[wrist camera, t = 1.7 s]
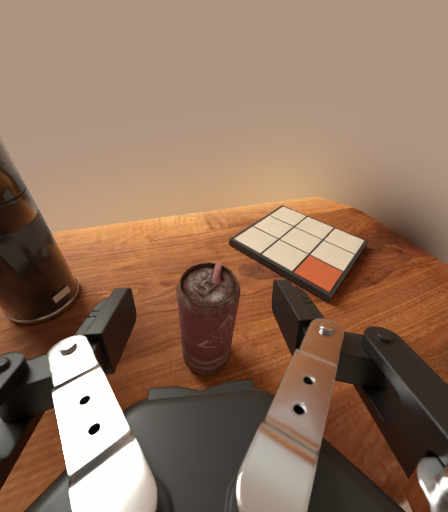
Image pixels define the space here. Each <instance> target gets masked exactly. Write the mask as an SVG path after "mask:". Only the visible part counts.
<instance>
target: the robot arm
mask: <svg viewBox="0 0 448 512" xmlns="http://www.w3.org/2000/svg"><path fill="white" fill-rule="evenodd" d="M79 292H80V286H79V284H78V282H77V280H76V278H75V277H74V276H73V274H72V272H71V270H70V268H69V266H68V264H67V262H66V260H65V258H64V256H63V254H62V253H61V251H60V249H59V247H58V245H57V243H56V241H55V239H54V237H53V236H52V234H51V232H50V230H49V228H48V226H47V225H46V222H45V220H44V219H43V217H42V215H41V213H40V211H39V209H38V208H37V206H36V204H35V202H34V200H33V198H32V196H31V195H30V192H29V190H28V189H27V187H26V185H25V183H24V181H23V179H22V177H21V175H20V173H19V172H18V170H17V168H16V166H15V164H14V162H13V160H12V158H11V156H10V154H9V152H8V151H7V149H6V147H5V145H4V143H3V141H2V139H1V137H0V308H1V309H2V310H3V311H4V313H5V315H6V316H7V317H8V318H9V319H10V320H11V321H13V322H15V323H17V324H23V325H31V324H37V323H42V322H45V321H48V320H50V319H52V318H55V317H56V316H58V315H60V314H62V313H63V312H65V311H66V310H67V309H68V308H69V307H70V306H71V305H72V304H73V303H74V302H75V301H76V299H77V298H78V295H79ZM272 310H273V314H274V316H275V318H276V321H277V323H278V325H279V327H280V330H281V332H282V334H283V337H284V339H285V341H286V343H287V346H288V348H289V350H290V352H291V355H292V359H291V361H290V364H289V366H288V368H287V370H286V372H285V375H284V377H283V379H282V381H281V384H280V386H279V388H278V390H277V393H276V395H273V394H271V393H269V392H267V391H264V390H261V389H257V388H254V384H253V380H241V381H229V382H225V383H222V384H219V385H216V386H213V387H210V388H208V389H205V390H196V389H190V388H184V387H178V386H171V387H159V388H150V389H149V394H148V398H145V399H143V400H141V401H138V402H136V403H135V404H133V405H131V406H130V407H128V408H127V409H126V410H124V411H123V412H122V411H121V408H120V406H119V404H118V402H117V400H116V398H115V395H114V393H113V391H112V389H111V387H110V385H109V383H108V380H107V378H106V376H105V374H112V373H114V372H115V369H116V367H117V365H118V362H119V360H120V358H121V355H122V353H123V350H124V348H125V346H126V343H127V341H128V339H129V336H130V334H131V331H132V329H133V327H134V324H135V322H136V308H135V304H134V299H133V294H132V290H131V289H130V288H117V289H114V291H113V292H112V294H111V295H110V297H109V298H105V299H103V300H102V301H101V302H99V303H98V304H97V305H96V306H95V307H94V309H93V310H92V312H91V313H90V314H89V315H88V318H86V320H85V321H84V322H83V324H82V325H81V326H80V328H79V329H78V330H77V332H76V333H75V335H74V336H71V337H68V338H65V339H63V340H61V341H59V342H58V343H56V344H55V345H54V346H53V347H52V348H51V349H50V350H49V352H48V354H46V355H42V356H39V357H35V358H32V359H28V360H26V359H25V357H24V355H23V354H22V353H20V352H10V353H6V354H3V355H1V356H0V489H1V488H2V486H3V484H4V482H5V481H6V479H7V477H8V475H9V474H10V472H11V470H12V468H13V467H14V465H15V463H16V461H17V460H18V458H19V456H20V454H21V453H22V451H23V449H24V447H25V446H26V444H27V442H28V440H29V439H30V437H31V435H32V433H33V432H34V430H35V428H36V426H37V424H38V423H39V421H40V419H41V417H42V416H43V414H44V412H45V411H46V410H49V409H51V408H54V407H55V412H56V417H57V422H58V427H59V432H60V437H61V442H62V447H63V452H64V457H65V462H66V467H67V468H66V469H65V470H64V471H63V472H62V473H61V474H60V475H59V476H58V477H57V478H56V479H55V480H54V481H53V483H52V484H51V485H50V486H49V487H48V488H47V489H46V490H45V491H44V492H43V493H42V494H41V495H40V496H39V497H38V498H37V499H36V500H35V501H34V502H33V503H32V504H31V505H30V506H29V507H28V508H27V509H26V510H25V511H24V512H405V511H404V510H403V509H402V508H401V507H400V506H399V505H398V504H397V503H396V502H395V501H394V500H393V499H392V498H390V497H389V496H388V495H387V494H386V493H385V492H384V491H383V490H382V489H380V488H379V487H378V486H377V485H376V484H375V483H374V482H373V481H372V480H370V479H369V478H368V477H367V476H366V475H365V474H364V473H363V472H361V471H360V470H359V469H358V468H357V467H356V466H355V465H354V464H353V463H351V462H350V461H349V460H348V459H347V458H346V457H345V456H344V455H342V454H341V453H340V452H339V451H338V450H337V449H336V448H335V447H334V446H332V445H331V444H330V443H329V442H328V441H327V440H326V439H325V438H324V437H323V433H324V428H325V423H326V419H327V414H328V409H329V405H330V400H331V395H332V391H333V386H334V381H335V380H336V381H340V382H345V383H350V384H353V385H354V387H355V388H356V390H357V392H358V394H359V395H360V397H361V399H362V400H363V402H364V404H365V405H366V407H367V409H368V411H369V412H370V414H371V416H372V417H373V419H374V421H375V422H376V424H377V426H378V428H379V429H380V431H381V433H382V434H383V436H384V438H385V440H386V441H387V443H388V445H389V446H390V448H391V450H392V451H393V453H394V455H395V457H396V458H397V460H398V462H399V463H400V465H401V467H402V468H403V470H404V472H405V474H406V475H407V477H408V479H409V480H408V481H407V483H406V496H407V499H408V502H409V504H410V507H411V509H412V511H413V512H448V385H447V384H446V383H445V382H444V381H443V380H442V379H441V378H440V377H439V376H438V375H437V374H436V373H435V372H434V371H433V370H432V369H431V368H430V367H429V366H428V365H427V364H426V363H425V362H424V361H423V360H422V359H421V358H420V357H419V356H418V355H417V354H416V353H415V352H414V351H413V350H412V349H411V348H410V347H409V346H408V345H407V344H406V343H405V342H404V341H403V340H402V339H401V338H400V337H399V336H398V335H397V334H395V333H394V332H392V331H390V330H388V329H385V328H382V327H375V326H373V327H368V328H366V329H365V331H364V335H360V334H354V333H348V332H344V331H343V329H342V327H341V326H340V325H338V324H337V323H335V322H333V321H331V320H328V319H325V318H324V317H323V315H322V314H321V313H320V311H319V310H318V309H317V307H316V306H315V305H314V304H313V302H312V301H311V299H309V297H308V295H307V294H306V293H305V292H304V291H303V290H301V289H300V288H298V287H293V286H292V284H291V283H290V281H289V280H288V279H280V280H274V282H273V294H272Z"/></svg>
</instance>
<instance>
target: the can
mask: <svg viewBox="0 0 448 512" xmlns="http://www.w3.org/2000/svg"><path fill="white" fill-rule="evenodd" d="M239 297H240V287H239V283H238V281H237V279H236V276H235V275H234V274H233V272H232V271H231V270H229V269H228V268H226V267H225V266H222V264H221V263H201V264H197V265H194V266H192V267H191V268H189V269H187V270H186V271H185V273H184V274H183V275H182V277H181V279H180V280H179V283H178V286H177V301H178V310H179V320H180V329H181V338H182V348H183V357H184V360H185V362H186V365H187V366H188V367H189V368H190V369H191V370H192V371H194V372H196V373H198V374H204V375H208V374H214V373H216V372H217V371H219V370H221V369H222V368H223V367H224V366H225V365H226V363H227V360H228V358H229V354H230V348H231V342H232V337H233V331H234V325H235V320H236V314H237V309H238V303H239Z"/></svg>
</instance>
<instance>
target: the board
mask: <svg viewBox="0 0 448 512" xmlns="http://www.w3.org/2000/svg"><path fill="white" fill-rule="evenodd" d="M367 242H368V241H366V240H364V239H361V238H359V237H357V236H354V235H352V234H349V233H347V232H345V231H342V230H340V229H337V228H335V227H333V226H330V225H328V224H326V223H323V222H321V221H318V220H316V219H314V218H311V217H309V216H306V215H304V214H302V213H299V212H297V211H295V210H292V209H290V208H287V207H285V206H283V205H282V206H281V207H279V208H277V209H276V210H274V211H273V212H271V213H270V214H268V215H267V216H265V217H263V218H262V219H260V220H259V221H257V222H256V223H254V224H253V225H251V226H249V227H248V228H246V229H245V230H243V231H242V232H240V233H239V234H237V235H236V236H234V237H232V238H231V239H230V241H229V245H230V246H232V247H234V248H236V249H237V250H239V251H241V252H242V253H244V254H246V255H247V256H249V257H251V258H253V259H254V260H256V261H258V262H259V263H261V264H263V265H265V266H266V267H268V268H270V269H271V270H273V271H275V272H276V273H278V274H280V275H282V276H283V277H285V278H287V279H288V280H290V281H292V282H293V283H295V284H297V285H299V286H300V287H302V288H304V289H305V290H307V291H309V292H310V293H312V294H314V295H316V296H317V297H319V298H321V299H322V300H324V301H326V302H329V301H330V299H331V298H332V296H333V295H334V293H335V292H336V290H337V288H338V287H339V285H340V284H341V282H342V281H343V279H344V278H345V276H346V275H347V273H348V272H349V270H350V269H351V267H352V266H353V264H354V263H355V261H356V260H357V258H358V256H359V255H360V253H361V252H362V250H363V249H364V247H365V246H366V244H367Z"/></svg>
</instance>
